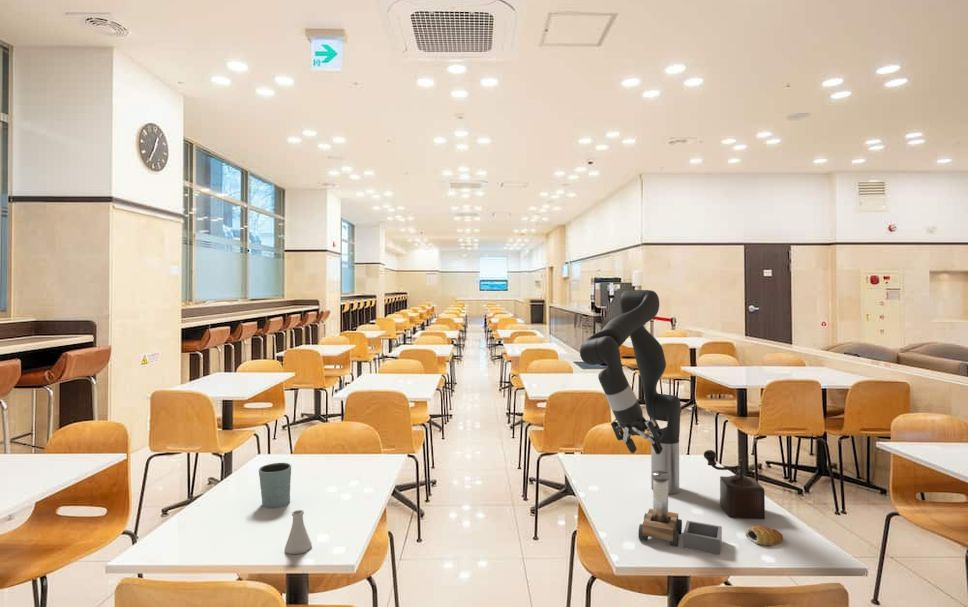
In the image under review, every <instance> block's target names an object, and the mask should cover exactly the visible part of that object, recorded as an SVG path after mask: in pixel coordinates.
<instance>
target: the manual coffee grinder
mask: <svg viewBox="0 0 968 607" xmlns="http://www.w3.org/2000/svg"><path fill="white" fill-rule="evenodd" d="M703 457H704V459H706V460H707V465H708V466H711V467H712V468H714V469H715V470H718V471H729V470H737V469H739V471H736V472H735V474H734V475H729V476H720V477H719V506H720V508H721V509H722V510H723V512H724V513H725V514H726V516H727V517H729V518H731V519H746V520H765V519H766V516H765V515H766V514H765V513H766V510H765V509H766V506H765V504H766V502H765V500H766V499H765V494H766V493H765V488H764V487H763V486H762V485H761V484H760V483H759V482H758V481H757V480H756V479H755V478H753V477H750V476H746V475H745V474H744V467H745V464H744V462H745V460H743V459H742V458H741V459H739V463H738V464H737V465H734V466H733V465H732V466H723V467H722V466H717V464H718V462H716V458H717V453H716V452H715V451H714V450H712V449H708V450H705V451H704V452H703Z"/></svg>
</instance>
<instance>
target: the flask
mask: <svg viewBox="0 0 968 607" xmlns="http://www.w3.org/2000/svg"><path fill="white" fill-rule="evenodd" d="M304 513H305V511H304V509H296V510H293V511H291V516H292V524H291V528H290V530H289V535H288V538H287V540H286V544H285V547H284V553H285V554H289V555H290V554H291V555H296V554H304V553H306V552H308V551H309V550H310V549H312V548H313V547H312V546H313V545H312V541H311V538H310V536H309V533H308V532H307V529H306V526H305V522H304Z"/></svg>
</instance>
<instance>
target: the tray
mask: <svg viewBox="0 0 968 607" xmlns="http://www.w3.org/2000/svg"><path fill="white" fill-rule="evenodd" d="M722 530H723V526H721V525H715V524H710V523H704V522H698V521H692V520H686V523H685V527H684V529H683V538H682V539H683V542H682V545H683V549H685V550H686V549H687V550H691V551H697V552H703V553H706V554H707V553H708V554H712V555H718V556H720V555H721V550H722V543H723V536H722V535H723V534H722Z"/></svg>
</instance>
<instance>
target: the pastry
mask: <svg viewBox="0 0 968 607" xmlns="http://www.w3.org/2000/svg"><path fill="white" fill-rule="evenodd" d="M745 536H746V538H747V540H749V541H751V542H753V543H754V544H757V545H759V546H766V547H767V546H774V545H778V544H781V543H782V542H783V541H784V536H783V534H782V533H781V532H780V531H779V530H777V529H774V528H770V527H767V526H762V525H757V526H756V525H752V526H751V527H748V528H747V530H746V531H745Z"/></svg>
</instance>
